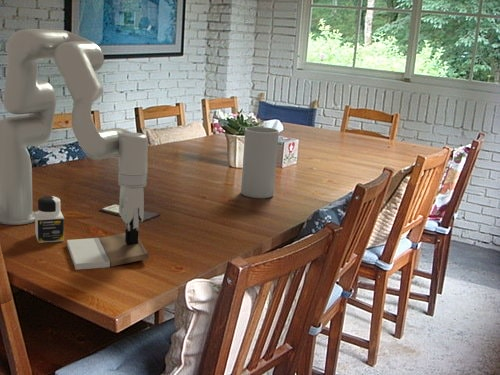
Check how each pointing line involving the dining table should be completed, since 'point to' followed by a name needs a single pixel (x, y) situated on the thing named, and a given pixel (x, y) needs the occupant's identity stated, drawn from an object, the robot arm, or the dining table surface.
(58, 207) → the medicine bottle
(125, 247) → the plank
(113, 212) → the chocolate bar
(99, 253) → the laid board
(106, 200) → the dining table surface
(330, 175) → the dining table surface
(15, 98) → the robot arm
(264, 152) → the cylinder vase
